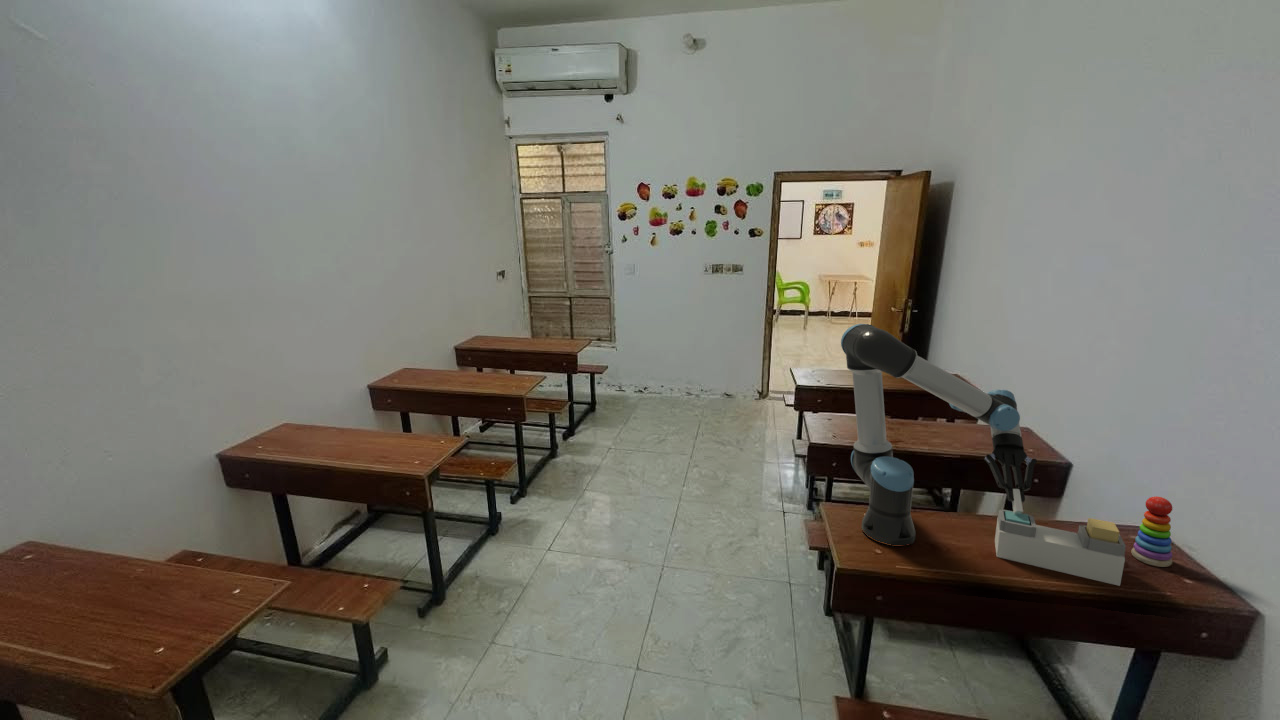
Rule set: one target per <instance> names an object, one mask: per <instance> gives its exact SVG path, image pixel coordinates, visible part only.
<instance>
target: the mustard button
mask: <svg viewBox="0 0 1280 720" xmlns="http://www.w3.org/2000/svg"><path fill="white" fill-rule="evenodd" d="M1086 523H1087V525H1086V526H1087V529H1086V530H1087V532H1088V534H1089V537H1090V538H1094V539H1099V540H1104V541H1109V542H1114V543H1118V538H1119V534H1120V530H1119V528H1118V527H1117V525H1116V523H1115V522H1112V521H1106V520H1102V519H1096V518H1090V517H1088V518H1087V522H1086Z"/></svg>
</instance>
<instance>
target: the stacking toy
mask: <svg viewBox="0 0 1280 720" xmlns="http://www.w3.org/2000/svg"><path fill="white" fill-rule="evenodd" d="M1145 508H1146V509H1147V510H1146V511H1145V512H1144V513H1143V516H1144V518H1143V519H1141V523H1140V525H1139V530H1137V535H1136V537H1135V539H1134V540H1135V542H1134V543H1133V547H1132V549H1130V551H1131V555H1132V557H1134V558H1135V559H1137V560H1138V561H1140V562H1142V563H1144V564H1146V565H1150V566H1153V567H1159V568H1165V567H1166V568H1167V567H1170V566H1171V565H1173V560H1172V558H1173V552H1172V548H1173V546H1172V545H1171V544H1172V538H1171V535H1172V533H1171V529H1172V526H1171V524H1170V522H1171V517H1170V516H1169V515H1170V514H1171V513H1172V511H1173V504H1172V502H1171V501H1169V500H1168V499H1166V498H1165V497H1161V496H1150V497H1149V498H1147V499H1146V501H1145Z"/></svg>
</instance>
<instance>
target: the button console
mask: <svg viewBox="0 0 1280 720" xmlns="http://www.w3.org/2000/svg"><path fill="white" fill-rule="evenodd" d="M1005 510H1006V511H1009V510H1007V509H998V516H997V519H996V528H995V535H994V546H995V553H996V554H995V555H996V557H997V558H1000V559H1004V560H1008V561H1013V562H1017V563H1021V564H1026V565H1030V566H1034V567H1037V568H1043V569H1045V570H1051V571H1055V572H1060V573H1064V574H1068V575H1073V576H1076V577H1081V578H1084V579H1088V580H1093V581H1097V582H1101V583H1106V584H1110V585H1115V586H1119V587H1120V586H1121V583H1122V579H1123V578H1122V577H1123V572H1124V567H1125V560H1126V557H1125V553H1126V547H1127V545H1126V543H1125V541H1124V540H1123V538H1122V536H1121V535H1120V533H1119V538H1118V543H1114V542H1109V541H1104V540H1099V539H1094V538H1090V537H1089V534H1088V532H1087V530H1086V529H1087V525H1085V524H1083V525H1082V524H1081V525H1080V524H1079V525H1078V531H1077V532H1074V531H1069V530H1063V529H1059V528H1053V527H1049V526H1045V525H1038V524H1036V521H1035V517H1034V515H1031V514H1028V513H1026V514H1027V515H1028V518H1029V521H1030V525H1025V524H1020V523H1015V522H1010V521H1005V518H1004V517H1005ZM1010 511H1011V512H1013V510H1010ZM1021 514H1025V513H1024V512H1022V513H1021Z"/></svg>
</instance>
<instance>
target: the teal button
mask: <svg viewBox="0 0 1280 720" xmlns="http://www.w3.org/2000/svg"><path fill="white" fill-rule="evenodd" d="M1004 510H1005V517H1004V518H1005V521H1010V522H1015V523H1020V524H1025V525H1030V521H1029V518H1028V515H1027V514H1028V513H1024V514H1014V512H1011V511H1012V510H1008V511H1006V510H1007V509H1004Z"/></svg>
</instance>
